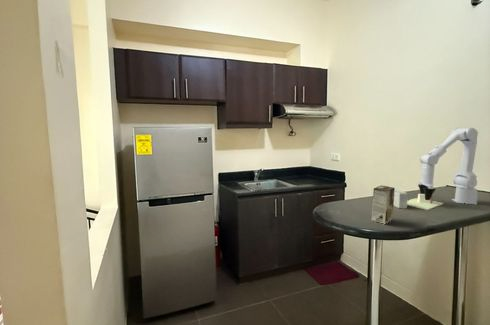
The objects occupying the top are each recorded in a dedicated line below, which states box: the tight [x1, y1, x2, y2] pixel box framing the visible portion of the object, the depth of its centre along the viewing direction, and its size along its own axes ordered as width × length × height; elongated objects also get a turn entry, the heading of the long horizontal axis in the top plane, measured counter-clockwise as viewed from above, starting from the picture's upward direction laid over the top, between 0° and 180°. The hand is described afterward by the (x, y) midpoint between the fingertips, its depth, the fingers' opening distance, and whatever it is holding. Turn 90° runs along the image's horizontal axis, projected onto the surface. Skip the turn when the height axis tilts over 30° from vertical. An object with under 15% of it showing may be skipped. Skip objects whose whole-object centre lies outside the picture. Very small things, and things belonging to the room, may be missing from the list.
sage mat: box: [407, 197, 444, 211], centre depth 148 cm, size 20×14×1 cm
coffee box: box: [371, 185, 396, 225], centre depth 120 cm, size 9×6×16 cm
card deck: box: [417, 193, 434, 203], centre depth 149 cm, size 3×6×4 cm, turn 71°
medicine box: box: [393, 189, 408, 210], centre depth 143 cm, size 8×4×9 cm, turn 179°
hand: (425, 198), depth 149 cm, fingers open, 7 cm apart
